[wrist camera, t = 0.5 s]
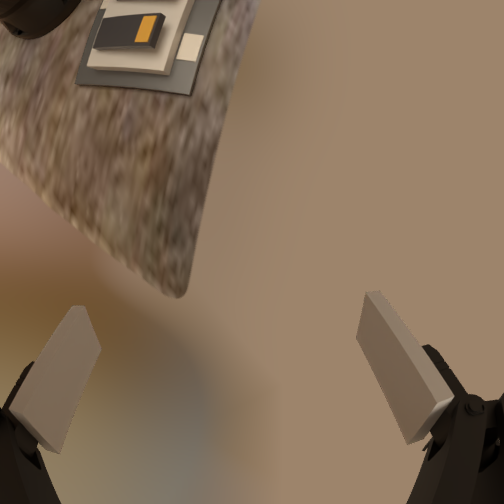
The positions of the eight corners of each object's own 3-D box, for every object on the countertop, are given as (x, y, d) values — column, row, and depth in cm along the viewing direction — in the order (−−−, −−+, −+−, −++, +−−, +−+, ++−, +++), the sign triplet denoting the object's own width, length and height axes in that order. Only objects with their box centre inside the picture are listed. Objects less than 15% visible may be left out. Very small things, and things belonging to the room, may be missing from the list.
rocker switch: (108, 21, 22) (102, 17, 21) (166, 16, 21) (160, 12, 20) (98, 50, 23) (91, 48, 22) (154, 48, 23) (148, 45, 21)
